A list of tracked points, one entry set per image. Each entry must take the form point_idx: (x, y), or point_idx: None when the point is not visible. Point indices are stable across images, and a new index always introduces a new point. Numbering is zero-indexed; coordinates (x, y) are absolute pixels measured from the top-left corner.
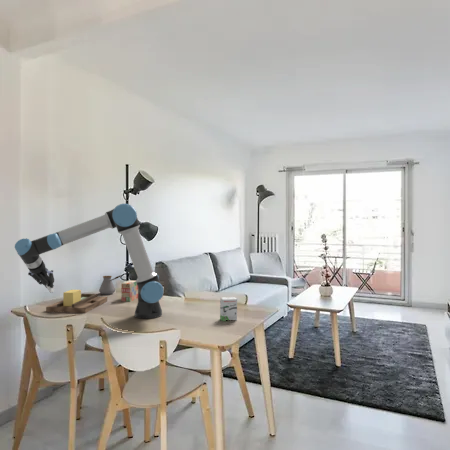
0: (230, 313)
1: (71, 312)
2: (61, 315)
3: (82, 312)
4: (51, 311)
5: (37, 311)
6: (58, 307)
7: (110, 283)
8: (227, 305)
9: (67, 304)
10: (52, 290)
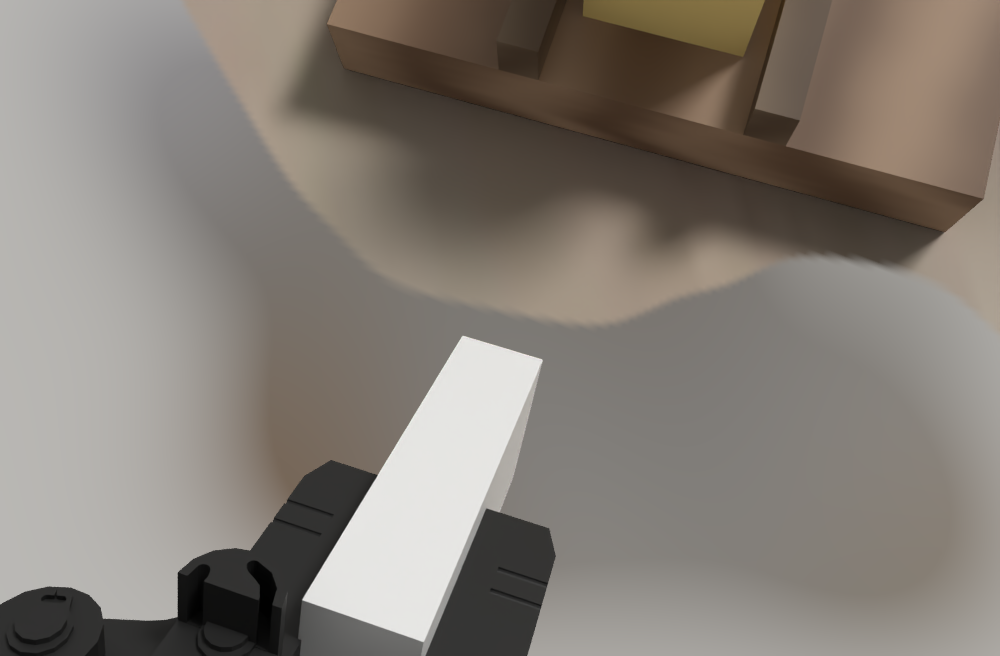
0: None
1: (720, 169)
2: (607, 314)
3: (897, 216)
4: (418, 83)
5: (220, 13)
6: (520, 77)
7: None
8: None
9: (652, 15)
10: (505, 485)
